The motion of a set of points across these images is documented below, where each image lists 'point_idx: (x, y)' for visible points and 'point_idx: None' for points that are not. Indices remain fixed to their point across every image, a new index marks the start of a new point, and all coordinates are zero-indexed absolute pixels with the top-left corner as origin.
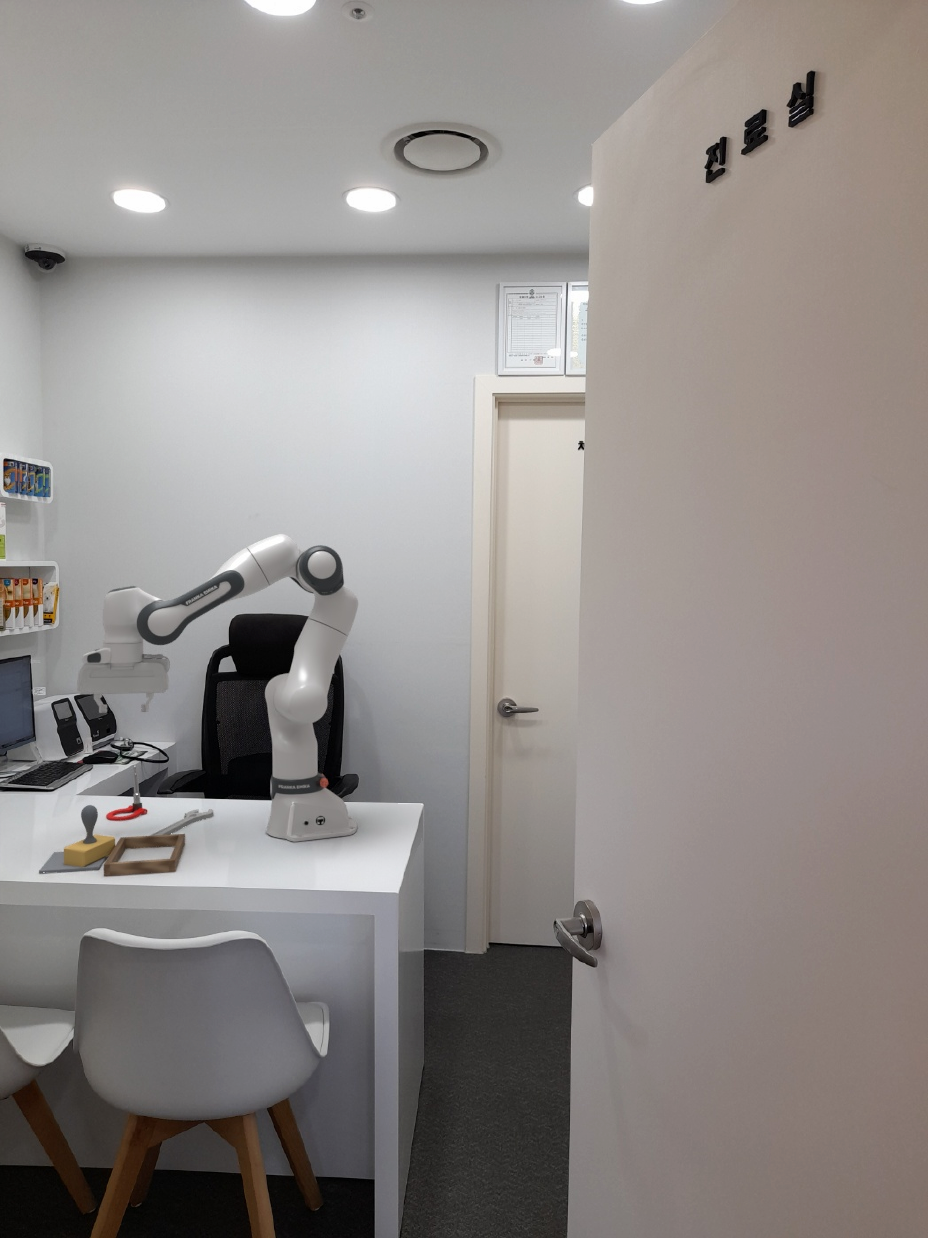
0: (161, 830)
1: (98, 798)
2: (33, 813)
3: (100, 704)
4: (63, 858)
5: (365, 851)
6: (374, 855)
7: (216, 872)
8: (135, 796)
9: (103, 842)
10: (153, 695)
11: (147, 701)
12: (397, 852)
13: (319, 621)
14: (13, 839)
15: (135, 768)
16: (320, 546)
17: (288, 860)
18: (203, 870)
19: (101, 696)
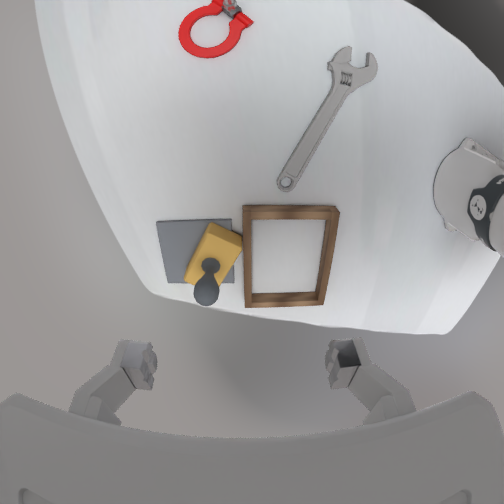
0: (298, 151)
1: None
2: (65, 29)
3: (128, 394)
4: (178, 248)
5: (477, 265)
6: (477, 275)
7: (359, 301)
8: (228, 8)
9: (230, 267)
10: (408, 397)
11: (363, 400)
12: (489, 270)
13: None
14: (77, 149)
15: None
16: None
17: (424, 279)
18: (348, 295)
19: (106, 410)
